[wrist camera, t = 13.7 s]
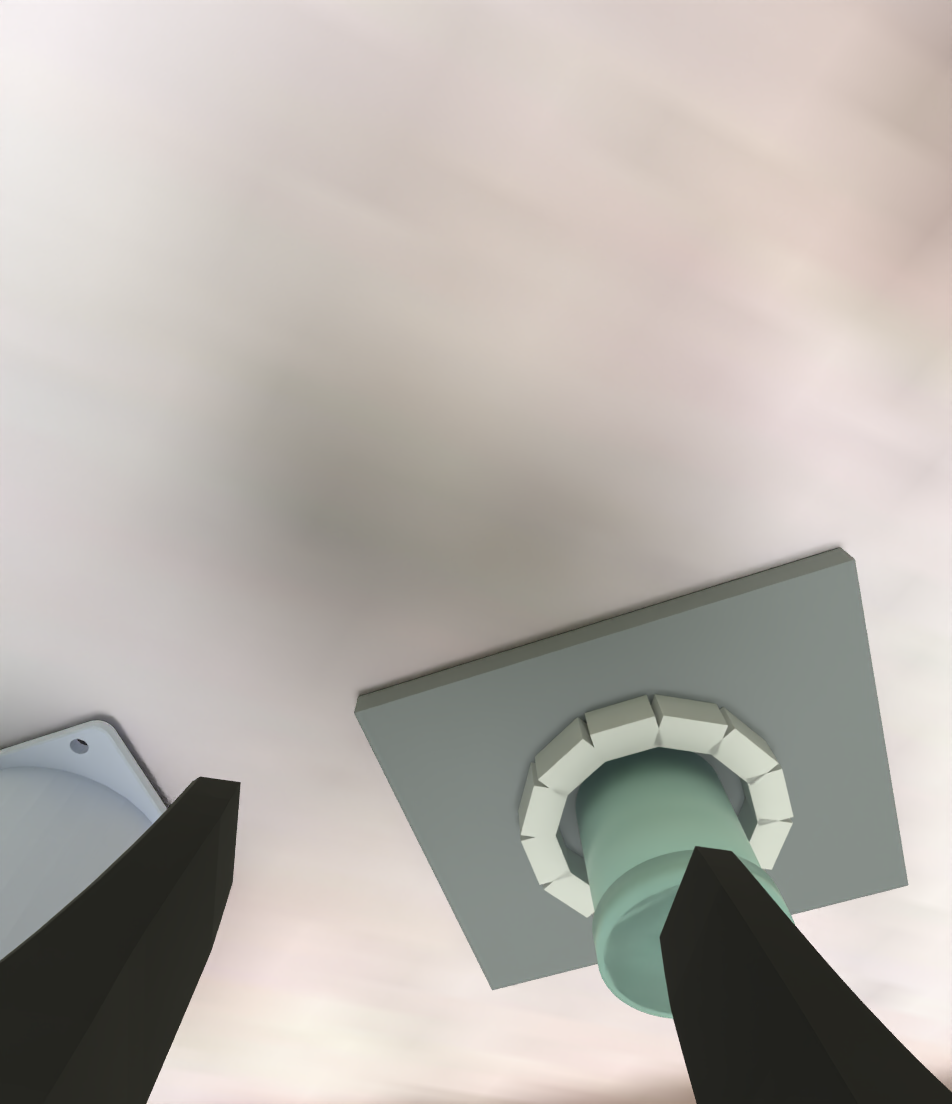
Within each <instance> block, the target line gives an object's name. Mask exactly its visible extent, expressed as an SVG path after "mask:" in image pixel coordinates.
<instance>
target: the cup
mask: <svg viewBox="0 0 952 1104" xmlns="http://www.w3.org/2000/svg"><path fill="white" fill-rule="evenodd" d="M575 812H576V817H577V823H578V828H579V833H580V839H581V844H582V849H583V854H584V859H585V865H586V870H587V875H588V880H589V886H590V891H591V896H592V901H593V907H594V912H595V913H594V917H593V922H592V933H593V939H594V944H595V950H596V955H597V961H598V966H599V971H600V973H601V976H602V979H603V980H604V982H605V984H606V985H607V987H608V988H609V989H610V990H611V992H612V993H613V994H614V995H615V996H616V997H618V998H619V999H620V1000H621V1001H623V1002H624V1003H626V1004H627V1005H629V1006H631V1007H633V1008H635V1009H637V1010H639V1011H642V1012H644V1013H647V1014H650V1015H655V1016H659V1017H664V1018H672V1019H673V1015H672V1012H671V1008H670V1003H669V997H668V991H667V985H666V979H665V973H664V966H663V959H662V952H661V945H660V938H659V937H660V934H661V932H662V929H663V927H664V924H665V921H666V919H667V916H668V914H669V911H670V909H671V906H672V904H673V901H674V899H675V896H676V894H677V891H678V888H679V886H680V883H681V881H682V878H683V876H684V873H685V871H686V868H687V866H688V863H689V860H690V858H691V855H692V853H693V850H694V848H695V846H700V847H707V848H715V849H722V850H729V851H732V852H733V853H734V854H735V855H736V856H737V857H738V858H739V860H740V861H741V862H742V863H743V864H744V865H745V866H746V868H747V869H748V870H749V871H750V872H751V873H752V875H753V876H754V877H755V878H756V879H757V880H758V882H759V883H760V884H761V885H762V886H763V888H764V889H765V890H766V891H767V892H768V894H769V895H770V896H771V897H772V898H773V900H774V901H775V902H776V903H777V904H778V906H779V907H780V908H781V909H782V910H783V912H784V913H785V914H786V915H787V916H788V918H789V919H790V920H791V921H792V922H793V923H794V921H793V919H792V916H791V914H790V912H789V910H788V908H787V906H786V904H785V902H784V900H783V898H782V896H781V893H780V891H779V889H778V887H777V886H776V884H775V883H774V881H773V880H772V878H771V877H770V876H769V875H768V874H767V873H766V872H765V871H764V870H762V868H761V866H760V864H759V862H758V860H757V858H756V856H755V853H754V851H753V849H752V847H751V845H750V843H749V841H748V839H747V836H746V834H745V832H744V830H743V828H742V826H741V824H740V822H739V820H738V817H737V815H736V813H735V811H734V809H733V807H732V805H731V803H730V801H729V798H728V796H727V794H726V792H725V790H724V788H723V786H722V784H721V782H720V779H719V777H718V775H717V773H716V772H715V770H714V769H713V767H712V766H711V765H710V764H709V763H708V762H707V761H706V760H705V759H703V758H702V757H701V756H699V755H698V754H696V753H694V752H691V751H684V750H678V749H671V748H664V747H655V748H652V749H648V750H645V751H641V752H638V753H634V754H631V755H627V756H624V757H620V758H617V759H613V760H610V761H606V762H604V763H603V764H602V765H601V766H600V767H599V768H598V769H597V770H595V771H594V772H593V773H592V774H591V775H590V776H589V777H587V778H586V779H585V780H584V781H583V782H582V784H581V786H580V788H579V791H578V794H577V797H576V803H575ZM794 925H795V923H794Z"/></svg>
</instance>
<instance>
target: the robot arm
mask: <svg viewBox="0 0 952 1104" xmlns="http://www.w3.org/2000/svg"><path fill="white" fill-rule="evenodd" d="M77 739H80V740H83V741H85V742H86V743H87V744H88V745H83V744H81V743H80V742H79V741H78V740H77ZM240 783H241V782H235V781H227V780H220V779H213V778H206V777H199V778H197V779H196V780H194V781H192V782H191V784H190V785H189V786H188V787H187V788H186V789H185V790H184V791H183V793H182V794H181V795H180V796H179V797H178V798H177V799H176V800H175V801H174V802H173V803H172V804H171V806H170V807H169V808H168V809H167V808H166V806H165V805H164V803H163V802H162V800H161V799H160V797H159V796H158V794H157V792H156V791H155V789H154V788H153V786H152V785H151V783H150V782H149V780H148V779H147V777H146V776H145V774H144V773H143V771H142V770H141V768H140V767H139V765H138V764H137V762H136V761H135V759H134V757H133V756H132V754H131V753H130V751H129V750H128V748H127V747H126V745H125V744H124V742H123V741H122V739H121V738H120V736H119V735H118V733H117V732H116V730H115V729H114V728H113V727H112V726H111V725H110V724H108V723H107V722H105V721H100V720H94V721H89V722H86V723H83V724H80V725H76V726H73V727H70V728H67V729H64V730H61V731H58V732H55V733H51V734H48V735H45V736H42V737H39V738H36V739H33V740H30V741H26V742H23V743H20V744H17V745H14V746H11V747H8V748H5V749H2V750H0V1104H146V1103H147V1101H148V1098H149V1096H150V1094H151V1091H152V1089H153V1087H154V1084H155V1082H156V1080H157V1077H158V1075H159V1073H160V1070H161V1068H162V1066H163V1063H164V1061H165V1059H166V1056H167V1054H168V1052H169V1049H170V1047H171V1045H172V1042H173V1040H174V1038H175V1035H176V1033H177V1031H178V1028H179V1026H180V1023H181V1021H182V1019H183V1016H184V1014H185V1012H186V1009H187V1007H188V1005H189V1002H190V1000H191V998H192V995H193V993H194V991H195V988H196V986H197V984H198V981H199V979H200V976H201V974H202V972H203V969H204V967H205V965H206V962H207V960H208V957H209V955H210V953H211V950H212V947H213V944H214V941H215V937H216V934H217V931H218V928H219V925H220V922H221V918H222V915H223V912H224V909H225V906H226V902H227V899H228V895H229V892H230V889H231V886H232V882H233V870H234V858H235V845H236V833H237V821H238V808H239V796H240ZM659 938H660V945H661V952H662V959H663V966H664V973H665V979H666V985H667V991H668V997H669V1003H670V1008H671V1012H672V1015H673V1019H674V1023H675V1027H676V1031H677V1034H678V1038H679V1042H680V1045H681V1049H682V1053H683V1056H684V1060H685V1064H686V1067H687V1071H688V1074H689V1078H690V1081H691V1085H692V1089H693V1092H694V1096H695V1099H696V1103H697V1104H952V1092H951V1091H950V1090H949V1089H948V1088H947V1087H946V1086H944V1085H943V1084H942V1083H941V1082H940V1081H939V1080H938V1079H937V1078H936V1077H935V1076H934V1075H933V1074H932V1073H931V1072H930V1071H929V1070H928V1069H927V1068H926V1067H925V1066H924V1065H923V1064H922V1063H921V1062H920V1061H919V1060H918V1059H917V1058H916V1057H915V1056H914V1055H913V1054H912V1053H911V1052H910V1051H909V1050H908V1049H907V1048H906V1047H905V1046H904V1045H903V1044H902V1043H901V1042H900V1041H899V1040H898V1039H897V1038H896V1037H895V1036H894V1035H893V1034H892V1033H891V1032H890V1031H889V1030H888V1029H887V1028H886V1027H885V1025H884V1024H883V1023H882V1022H881V1021H880V1020H879V1019H878V1018H877V1017H876V1016H875V1015H874V1014H873V1013H872V1012H871V1011H870V1010H869V1009H868V1007H867V1006H866V1005H865V1004H864V1003H863V1002H862V1001H861V1000H860V999H859V998H858V997H857V996H856V994H855V993H854V992H853V991H852V990H851V989H850V988H849V987H848V986H847V985H846V983H845V982H844V981H843V980H842V979H841V978H840V977H839V976H838V974H837V973H836V972H835V971H834V970H833V969H832V968H831V967H830V965H829V964H828V963H827V962H826V961H825V960H824V959H823V957H822V956H821V955H820V954H819V953H818V952H817V950H816V949H815V948H814V947H813V946H812V945H811V943H810V942H809V941H808V940H807V939H806V938H805V936H804V935H803V934H802V933H801V932H800V931H799V929H798V928H797V927H796V926H795V925H794V923H793V922H792V921H791V920H790V919H789V918H788V916H787V915H786V914H785V913H784V912H783V910H782V909H781V908H780V907H779V906H778V904H777V903H776V902H775V901H774V900H773V898H772V897H771V896H770V895H769V894H768V892H767V891H766V890H765V889H764V888H763V886H762V885H761V884H760V883H759V882H758V880H757V879H756V878H755V877H754V876H753V875H752V873H751V872H750V871H749V870H748V869H747V868H746V866H745V865H744V864H743V863H742V862H741V861H740V860H739V858H738V857H737V856H736V855H735V854H734V853H733V852H732V851H729V850H722V849H715V848H707V847H700V846H695V848H694V850H693V853H692V855H691V858H690V860H689V863H688V866H687V868H686V871H685V873H684V876H683V878H682V881H681V883H680V886H679V888H678V891H677V894H676V896H675V899H674V901H673V904H672V906H671V909H670V911H669V914H668V916H667V919H666V921H665V924H664V927H663V929H662V932H661V934H660V937H659Z"/></svg>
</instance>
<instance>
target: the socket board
mask: <svg viewBox="0 0 952 1104" xmlns="http://www.w3.org/2000/svg"><path fill="white" fill-rule="evenodd" d="M354 714H355V716H356V718H357V720H358V722H359V724H360V726H361V728H362V730H363V732H364V734H365V736H366V738H367V740H368V742H369V744H370V746H371V748H372V750H373V752H374V754H375V756H376V758H377V760H378V762H379V764H380V766H381V768H382V770H383V772H384V774H385V776H386V778H387V780H388V782H389V784H390V786H391V788H392V790H393V792H394V794H395V796H396V798H397V800H398V802H399V804H400V806H401V808H402V810H403V812H404V814H405V816H406V818H407V820H408V822H409V824H410V826H411V828H412V830H413V832H414V834H415V836H416V838H417V840H418V842H419V844H420V846H421V848H422V850H423V852H424V854H425V856H426V858H427V860H428V862H429V864H430V866H431V868H432V870H433V872H434V874H435V876H436V878H437V880H438V882H439V884H440V886H441V888H442V890H443V892H444V894H445V896H446V898H447V900H448V902H449V904H450V906H451V908H452V910H453V912H454V914H455V916H456V918H457V920H458V922H459V924H460V926H461V928H462V930H463V932H464V934H465V936H466V938H467V940H468V942H469V944H470V946H471V948H472V950H473V952H474V954H475V956H476V958H477V960H478V962H479V964H480V966H481V968H482V971H483V973H484V975H485V977H486V979H487V981H488V983H489V985H490V987H491V989H492V990H495V989H499V988H503V987H507V986H511V985H515V984H519V983H523V982H527V981H531V980H535V979H539V978H543V977H547V976H551V975H555V974H559V973H563V972H567V971H571V970H575V969H579V968H583V967H587V966H591V965H595V964H598V961H597V955H596V950H595V944H594V939H593V933H592V922H593V917H594V913H595V912H594V907H593V901H592V896H591V891H590V886H589V880H588V875H587V870H586V865H585V859H584V854H583V849H582V844H581V839H580V833H579V828H578V823H577V817H576V812H575V803H576V797H577V794H578V791H579V788H580V786H581V784H582V782H583V781H584V780H585V779H586V778H587V777H589V776H590V775H591V774H592V773H593V772H594V771H595V770H597V769H598V768H599V767H600V766H601V765H602V764H603V763H604V762H606V761H610V760H613V759H617V758H620V757H624V756H627V755H631V754H634V753H638V752H641V751H645V750H648V749H652V748H655V747H664V748H671V749H678V750H684V751H691V752H694V753H696V754H698V755H699V756H701V757H702V758H703V759H705V760H706V761H707V762H708V763H709V764H710V765H711V766H712V767H713V769H714V770H715V772H716V773H717V775H718V777H719V779H720V782H721V784H722V786H723V788H724V790H725V792H726V794H727V796H728V798H729V801H730V803H731V805H732V807H733V809H734V811H735V813H736V815H737V817H738V820H739V822H740V824H741V826H742V828H743V830H744V832H745V834H746V836H747V839H748V841H749V843H750V845H751V847H752V849H753V851H754V853H755V856H756V858H757V860H758V862H759V864H760V866H761V868H762V870H764V871H765V872H766V873H767V874H768V875H769V876H770V877H771V878H772V880H773V881H774V883H775V884H776V886H777V887H778V889H779V891H780V893H781V896H782V898H783V900H784V902H785V904H786V906H787V908H788V910H789V912H790V914H791V915H793V914H797V913H801V912H805V911H809V910H813V909H817V908H821V907H824V906H828V905H832V904H836V903H840V902H844V901H848V900H852V899H856V898H860V897H864V896H868V895H872V894H876V893H880V892H884V891H888V890H892V889H896V888H900V887H904V886H908V880H907V874H906V868H905V862H904V856H903V850H902V844H901V837H900V831H899V825H898V819H897V813H896V807H895V801H894V795H893V789H892V783H891V777H890V770H889V764H888V758H887V752H886V746H885V740H884V734H883V728H882V722H881V716H880V710H879V704H878V697H877V691H876V685H875V679H874V673H873V667H872V661H871V655H870V649H869V643H868V637H867V630H866V624H865V618H864V612H863V606H862V600H861V594H860V588H859V582H858V576H857V570H856V563H855V559H854V558H853V557H851V556H850V555H849V554H848V553H846V552H845V551H844V550H843V549H842V548H837V549H834V550H831V551H828V552H824V553H821V554H818V555H815V556H811V557H808V558H805V559H802V560H799V561H795V562H792V563H789V564H786V565H782V566H779V567H776V568H773V569H769V570H766V571H763V572H760V573H757V574H753V575H750V576H747V577H744V578H740V579H737V580H734V581H731V582H727V583H724V584H721V585H718V586H715V587H711V588H708V589H705V590H702V591H698V592H695V593H692V594H689V595H685V596H682V597H679V598H676V599H673V600H669V601H666V602H663V603H660V604H656V605H653V606H650V607H647V608H644V609H640V610H637V611H634V612H631V613H627V614H624V615H621V616H618V617H614V618H611V619H608V620H605V621H602V622H598V623H595V624H592V625H589V626H585V627H582V628H579V629H576V630H572V631H569V632H566V633H563V634H560V635H556V636H553V637H550V638H547V639H543V640H540V641H537V642H534V643H530V644H527V645H524V646H521V647H518V648H514V649H511V650H508V651H505V652H501V653H498V654H495V655H492V656H488V657H485V658H482V659H479V660H476V661H472V662H469V663H466V664H463V665H459V666H456V667H453V668H450V669H446V670H443V671H440V672H437V673H434V674H430V675H427V676H424V677H421V678H417V679H414V680H411V681H408V682H404V683H401V684H398V685H395V686H392V687H388V688H385V689H382V690H379V691H375V692H372V693H369V694H366V695H362V696H359V697H358V699H357V704H356V708H355V712H354Z"/></svg>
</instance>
